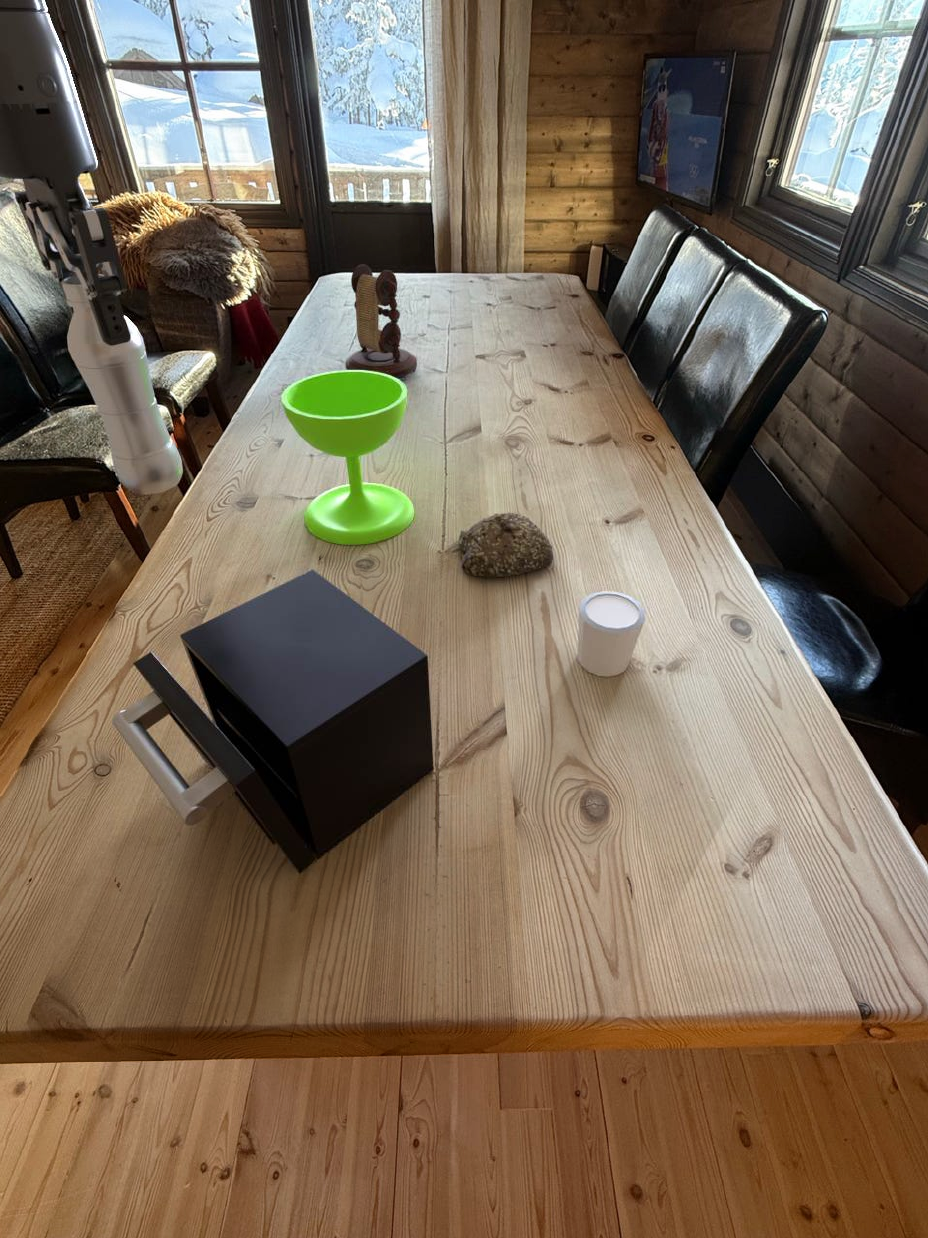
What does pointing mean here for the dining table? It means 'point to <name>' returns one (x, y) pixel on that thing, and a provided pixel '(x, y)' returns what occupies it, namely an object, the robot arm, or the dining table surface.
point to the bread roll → (504, 546)
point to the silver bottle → (123, 399)
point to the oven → (317, 703)
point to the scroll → (374, 342)
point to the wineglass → (351, 451)
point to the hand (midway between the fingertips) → (103, 333)
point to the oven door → (217, 752)
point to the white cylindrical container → (608, 632)
